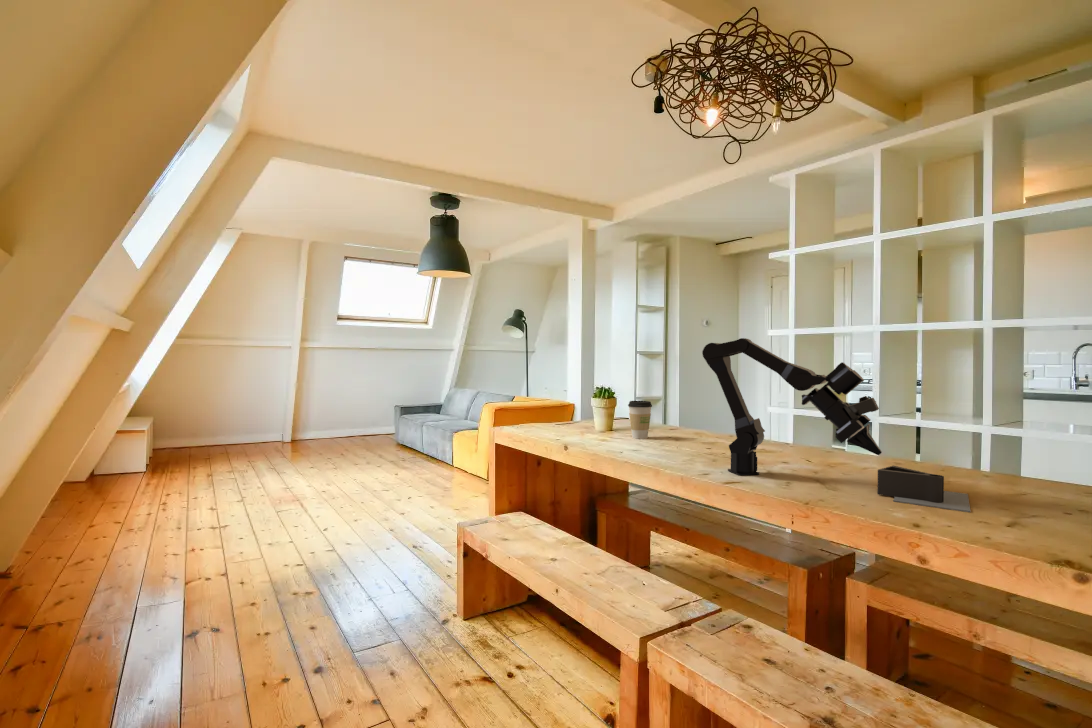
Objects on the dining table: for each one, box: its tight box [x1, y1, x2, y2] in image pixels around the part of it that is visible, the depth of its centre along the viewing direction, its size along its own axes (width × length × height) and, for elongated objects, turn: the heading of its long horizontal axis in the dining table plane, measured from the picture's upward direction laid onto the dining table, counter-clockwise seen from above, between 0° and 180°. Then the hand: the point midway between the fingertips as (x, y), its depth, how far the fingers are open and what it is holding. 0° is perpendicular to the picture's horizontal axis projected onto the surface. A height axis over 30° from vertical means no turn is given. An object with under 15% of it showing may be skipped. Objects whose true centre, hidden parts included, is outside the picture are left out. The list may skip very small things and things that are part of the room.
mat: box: [893, 490, 971, 513], centre depth 126 cm, size 14×18×1 cm
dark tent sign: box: [876, 465, 945, 503], centre depth 126 cm, size 9×6×12 cm
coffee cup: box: [627, 400, 653, 440], centre depth 217 cm, size 10×10×15 cm
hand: (880, 453), depth 132 cm, fingers closed
